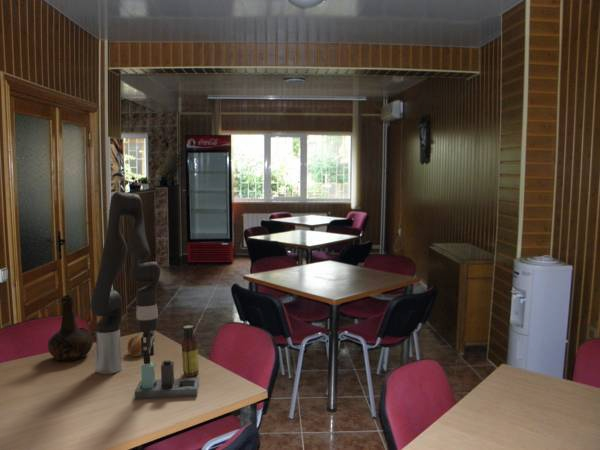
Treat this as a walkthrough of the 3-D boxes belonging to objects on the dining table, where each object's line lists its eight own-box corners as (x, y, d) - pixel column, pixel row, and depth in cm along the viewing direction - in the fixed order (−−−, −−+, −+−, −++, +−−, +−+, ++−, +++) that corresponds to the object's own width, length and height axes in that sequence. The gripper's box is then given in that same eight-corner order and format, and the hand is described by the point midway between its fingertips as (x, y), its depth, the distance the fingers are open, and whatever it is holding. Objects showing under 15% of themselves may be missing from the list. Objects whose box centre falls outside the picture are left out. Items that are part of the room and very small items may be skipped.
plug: (142, 395, 185) (141, 364, 184) (144, 391, 189) (143, 360, 188) (153, 395, 185) (152, 363, 184) (155, 390, 189) (154, 359, 188)
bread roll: (122, 358, 223) (121, 340, 223) (137, 347, 238) (136, 330, 237) (142, 359, 222) (142, 341, 222) (156, 347, 237) (156, 331, 236)
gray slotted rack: (134, 399, 182) (133, 367, 181) (140, 388, 192) (139, 357, 190) (196, 396, 184) (196, 364, 183) (199, 385, 194) (198, 355, 193)
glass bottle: (101, 355, 227) (99, 294, 224) (64, 368, 212) (61, 302, 209) (77, 348, 236) (74, 289, 233) (40, 360, 221) (37, 297, 218)
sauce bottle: (200, 371, 208) (199, 324, 206) (196, 377, 202) (195, 329, 200) (185, 370, 209) (184, 323, 207) (180, 376, 202) (179, 328, 201)
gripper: (154, 321, 178) (156, 365, 179) (160, 310, 192) (162, 352, 194) (132, 322, 177) (134, 367, 178) (140, 311, 191) (141, 353, 193)
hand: (149, 359), depth 186 cm, fingers open, 8 cm apart
